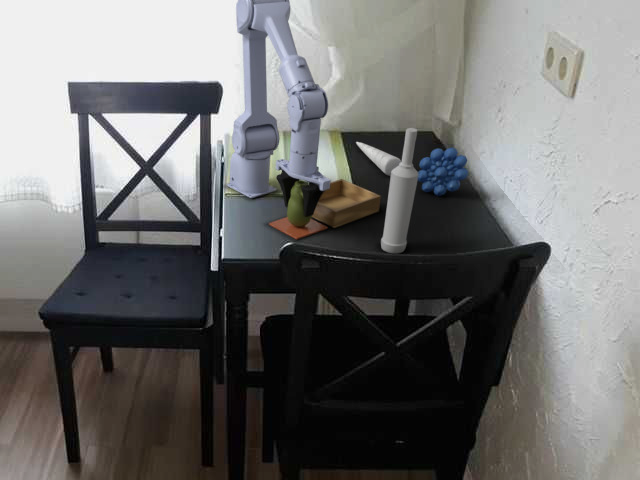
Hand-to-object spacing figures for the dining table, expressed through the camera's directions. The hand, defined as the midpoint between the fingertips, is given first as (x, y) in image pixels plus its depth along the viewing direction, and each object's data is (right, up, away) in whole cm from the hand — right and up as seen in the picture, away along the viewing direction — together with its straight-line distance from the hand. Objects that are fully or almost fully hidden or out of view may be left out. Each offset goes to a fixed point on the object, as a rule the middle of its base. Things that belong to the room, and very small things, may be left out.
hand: (299, 210), depth 161 cm
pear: (0, -3, +2) cm, 4 cm away
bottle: (+19, -9, -6) cm, 21 cm away
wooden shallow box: (+10, +2, +9) cm, 14 cm away
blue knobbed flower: (+35, +6, +17) cm, 40 cm away
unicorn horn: (+24, +18, +35) cm, 46 cm away
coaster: (0, -3, +2) cm, 4 cm away
